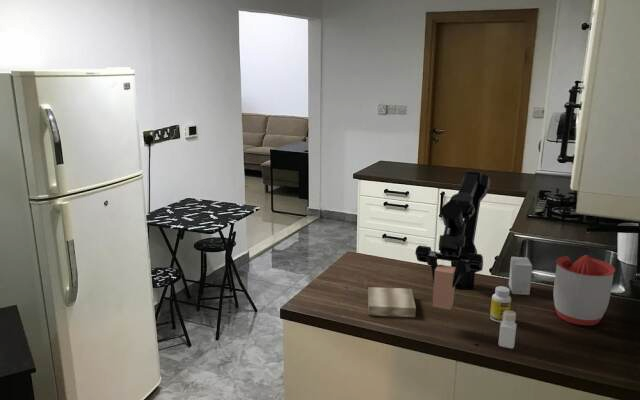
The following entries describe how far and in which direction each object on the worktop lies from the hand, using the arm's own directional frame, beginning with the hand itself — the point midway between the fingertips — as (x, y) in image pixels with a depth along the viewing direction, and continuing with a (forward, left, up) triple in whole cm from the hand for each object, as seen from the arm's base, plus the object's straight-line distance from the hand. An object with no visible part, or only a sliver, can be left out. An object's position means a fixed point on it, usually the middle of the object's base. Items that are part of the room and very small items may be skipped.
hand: (443, 285), depth 145 cm
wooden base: (+14, -13, -13) cm, 23 cm away
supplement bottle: (-18, -7, -14) cm, 24 cm away
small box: (-30, -29, -14) cm, 44 cm away
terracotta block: (0, -1, -7) cm, 7 cm away
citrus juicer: (-42, -11, -14) cm, 46 cm away
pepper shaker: (-16, +8, -14) cm, 23 cm away
